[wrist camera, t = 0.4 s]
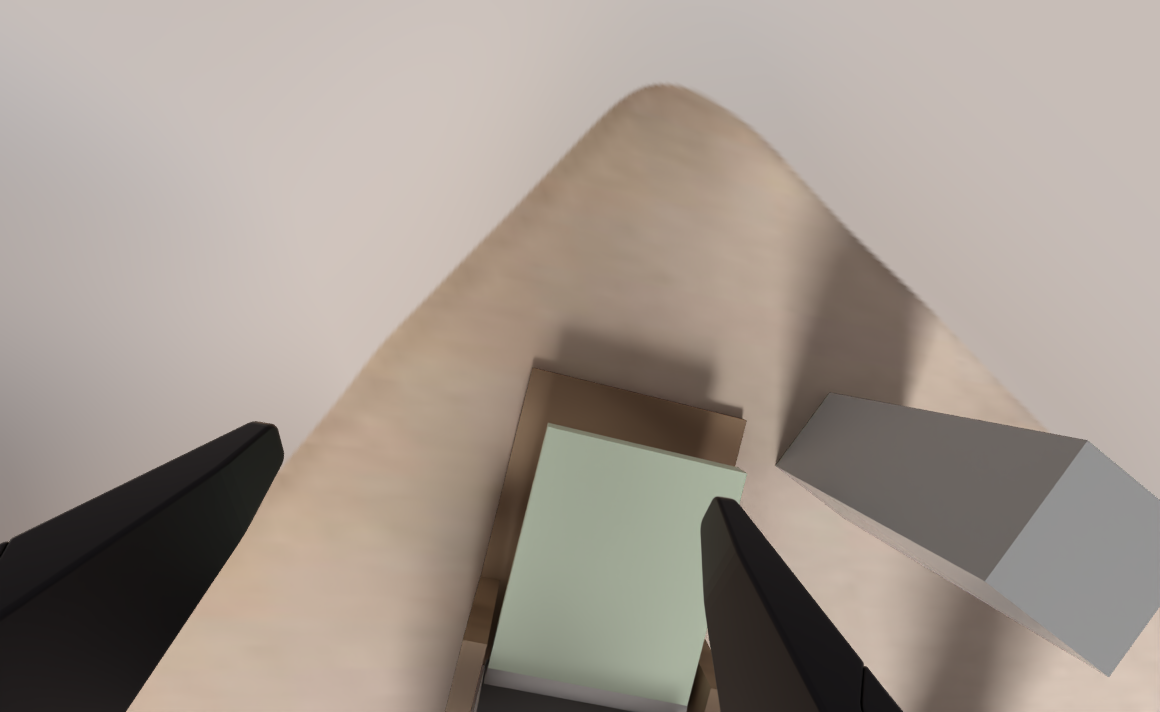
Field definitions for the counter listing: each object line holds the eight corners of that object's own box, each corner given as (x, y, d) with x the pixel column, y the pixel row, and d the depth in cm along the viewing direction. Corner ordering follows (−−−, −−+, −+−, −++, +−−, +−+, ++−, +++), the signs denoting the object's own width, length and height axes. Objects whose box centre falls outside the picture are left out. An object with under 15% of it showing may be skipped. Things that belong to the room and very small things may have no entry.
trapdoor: (642, 746, 24) (674, 882, 18) (472, 715, 23) (446, 846, 17) (717, 454, 24) (775, 492, 18) (547, 413, 23) (548, 439, 17)
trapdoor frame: (671, 694, 25) (706, 793, 20) (461, 653, 24) (436, 746, 19) (742, 418, 25) (798, 441, 19) (532, 367, 24) (528, 375, 18)
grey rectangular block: (844, 518, 25) (1108, 677, 13) (775, 465, 25) (984, 581, 13) (897, 445, 25) (1208, 539, 14) (829, 392, 25) (1087, 440, 13)
